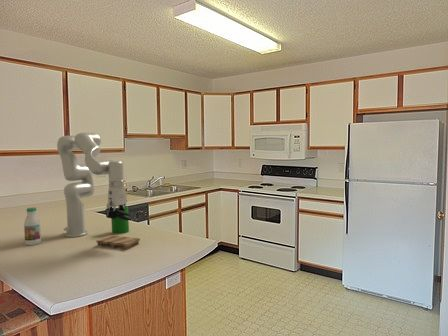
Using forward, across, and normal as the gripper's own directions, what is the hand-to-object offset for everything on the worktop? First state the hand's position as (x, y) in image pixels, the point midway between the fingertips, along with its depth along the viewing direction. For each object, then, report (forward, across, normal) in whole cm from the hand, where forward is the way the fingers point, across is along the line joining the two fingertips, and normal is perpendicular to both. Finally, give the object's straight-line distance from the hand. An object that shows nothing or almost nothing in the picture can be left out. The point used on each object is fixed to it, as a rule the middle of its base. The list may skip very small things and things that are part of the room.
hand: (117, 216), depth 176 cm
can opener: (+1, -1, -1) cm, 2 cm away
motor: (+16, +22, +16) cm, 32 cm away
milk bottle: (+15, -14, +47) cm, 51 cm away
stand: (+15, 0, 0) cm, 15 cm away
